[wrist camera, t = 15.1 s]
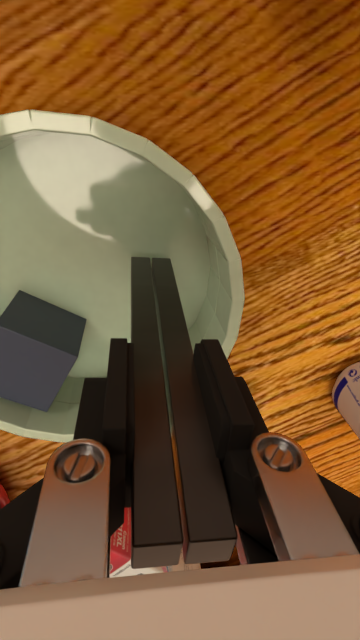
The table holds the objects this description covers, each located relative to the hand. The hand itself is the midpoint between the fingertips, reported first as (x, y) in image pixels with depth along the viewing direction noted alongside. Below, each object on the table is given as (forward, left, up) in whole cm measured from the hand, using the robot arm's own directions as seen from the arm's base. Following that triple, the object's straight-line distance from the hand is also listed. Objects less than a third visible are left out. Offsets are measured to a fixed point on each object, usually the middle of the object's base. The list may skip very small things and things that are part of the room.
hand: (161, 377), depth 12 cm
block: (+4, -6, -9) cm, 12 cm away
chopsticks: (-1, 0, -8) cm, 9 cm away
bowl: (0, -4, -10) cm, 10 cm away
